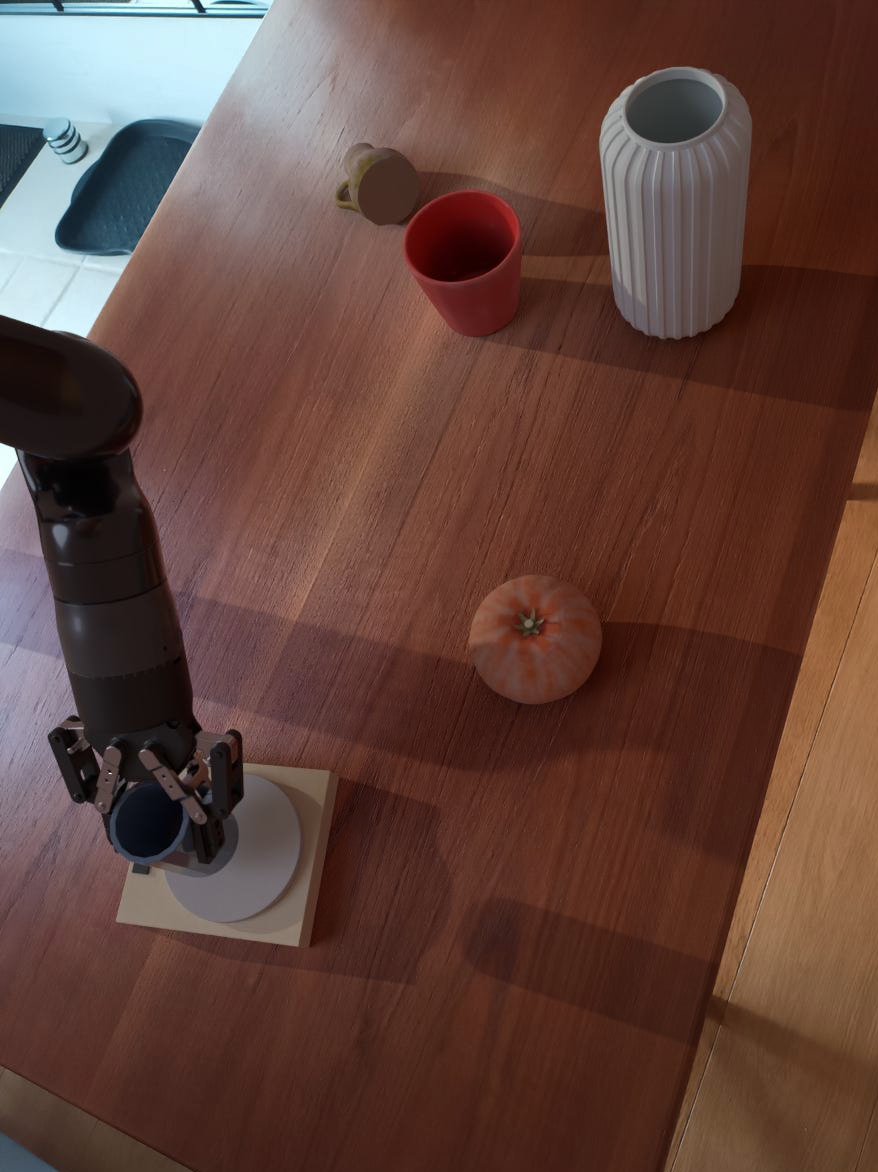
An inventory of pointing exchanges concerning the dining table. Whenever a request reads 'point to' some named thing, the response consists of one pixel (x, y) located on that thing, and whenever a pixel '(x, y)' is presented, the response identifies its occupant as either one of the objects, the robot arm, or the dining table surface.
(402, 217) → the mug
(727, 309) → the vase
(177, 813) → the ceramic cup
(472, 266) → the flower pot
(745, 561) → the dining table surface
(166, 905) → the scale
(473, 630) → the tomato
